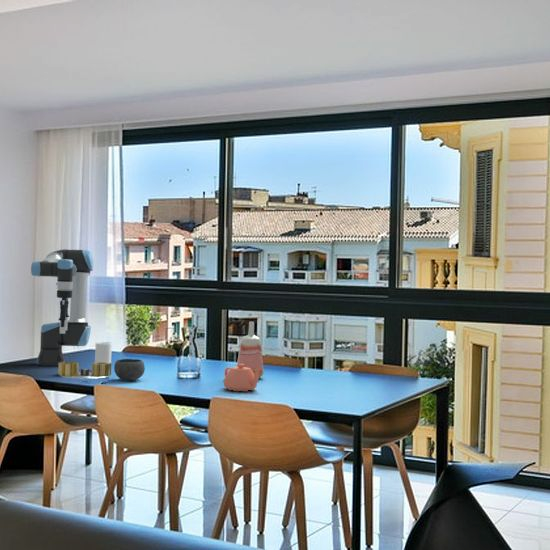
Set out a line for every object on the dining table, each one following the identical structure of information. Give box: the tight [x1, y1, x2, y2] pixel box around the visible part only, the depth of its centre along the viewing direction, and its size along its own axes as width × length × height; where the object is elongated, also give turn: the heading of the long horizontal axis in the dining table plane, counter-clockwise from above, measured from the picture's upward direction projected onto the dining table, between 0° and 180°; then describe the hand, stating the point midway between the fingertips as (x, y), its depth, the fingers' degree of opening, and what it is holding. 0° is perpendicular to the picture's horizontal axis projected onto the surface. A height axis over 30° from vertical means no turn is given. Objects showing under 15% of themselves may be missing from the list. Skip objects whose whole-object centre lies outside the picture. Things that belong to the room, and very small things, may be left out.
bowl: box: [113, 358, 146, 382], centre depth 391 cm, size 15×15×10 cm
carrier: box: [61, 367, 110, 383], centre depth 393 cm, size 24×24×6 cm
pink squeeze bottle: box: [236, 321, 264, 378], centre depth 412 cm, size 14×14×30 cm
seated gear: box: [90, 361, 112, 378], centre depth 395 cm, size 10×10×6 cm
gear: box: [57, 361, 80, 377], centre depth 392 cm, size 10×10×6 cm
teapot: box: [222, 364, 262, 392], centre depth 372 cm, size 22×16×12 cm
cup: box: [94, 341, 113, 364], centre depth 411 cm, size 8×8×16 cm
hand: (63, 331), depth 397 cm, fingers open, 13 cm apart
